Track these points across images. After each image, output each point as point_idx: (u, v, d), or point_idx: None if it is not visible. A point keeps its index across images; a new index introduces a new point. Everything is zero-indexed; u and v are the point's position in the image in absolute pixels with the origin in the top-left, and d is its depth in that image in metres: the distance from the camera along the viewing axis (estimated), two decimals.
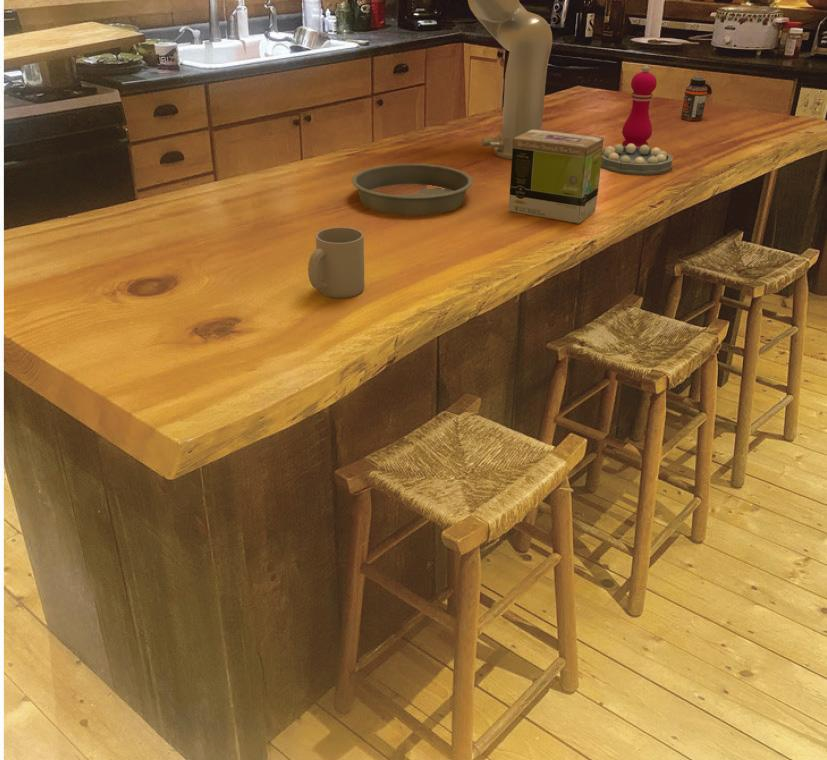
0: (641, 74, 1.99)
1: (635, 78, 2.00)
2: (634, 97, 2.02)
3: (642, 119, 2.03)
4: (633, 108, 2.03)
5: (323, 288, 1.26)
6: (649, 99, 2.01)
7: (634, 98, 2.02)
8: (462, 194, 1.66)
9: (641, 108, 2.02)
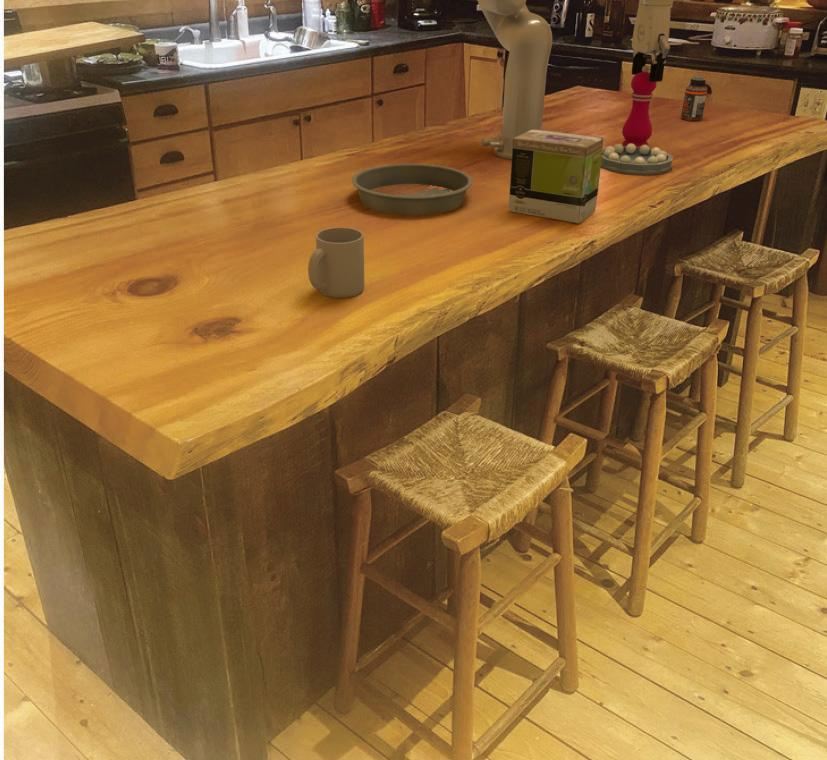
0: (641, 74, 1.99)
1: (635, 78, 2.00)
2: (634, 97, 2.02)
3: (642, 119, 2.03)
4: (633, 108, 2.03)
5: (323, 288, 1.26)
6: (649, 99, 2.01)
7: (634, 98, 2.02)
8: (462, 194, 1.66)
9: (641, 108, 2.02)
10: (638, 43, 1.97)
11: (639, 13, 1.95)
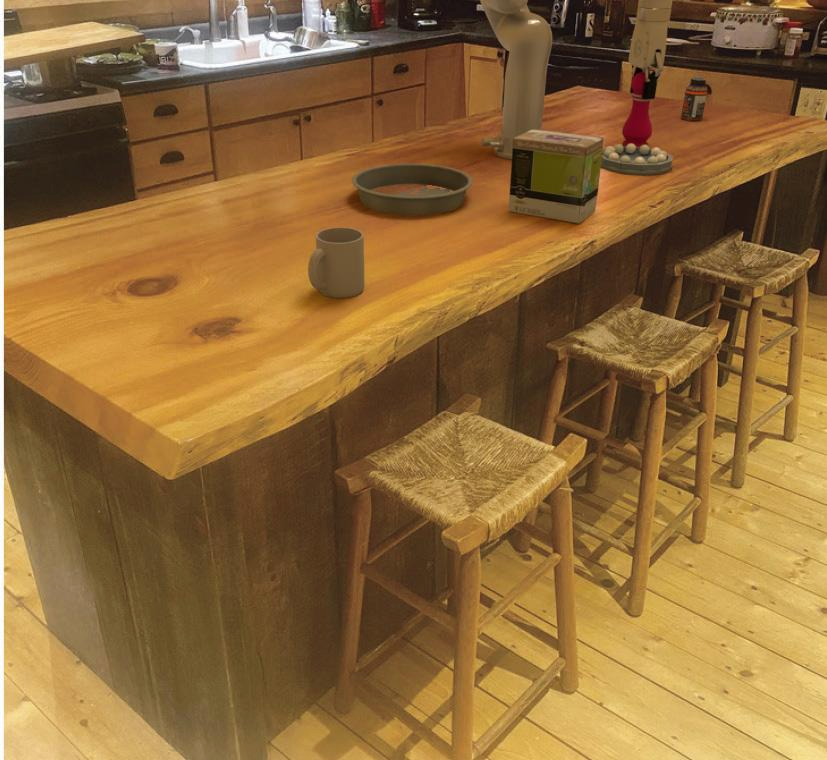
0: (641, 74, 1.99)
1: (635, 78, 2.00)
2: (634, 97, 2.02)
3: (642, 119, 2.03)
4: (633, 108, 2.03)
5: (323, 288, 1.26)
6: (649, 99, 2.01)
7: (634, 98, 2.02)
8: (462, 194, 1.66)
9: (641, 108, 2.02)
10: (635, 58, 1.98)
11: (636, 28, 1.97)
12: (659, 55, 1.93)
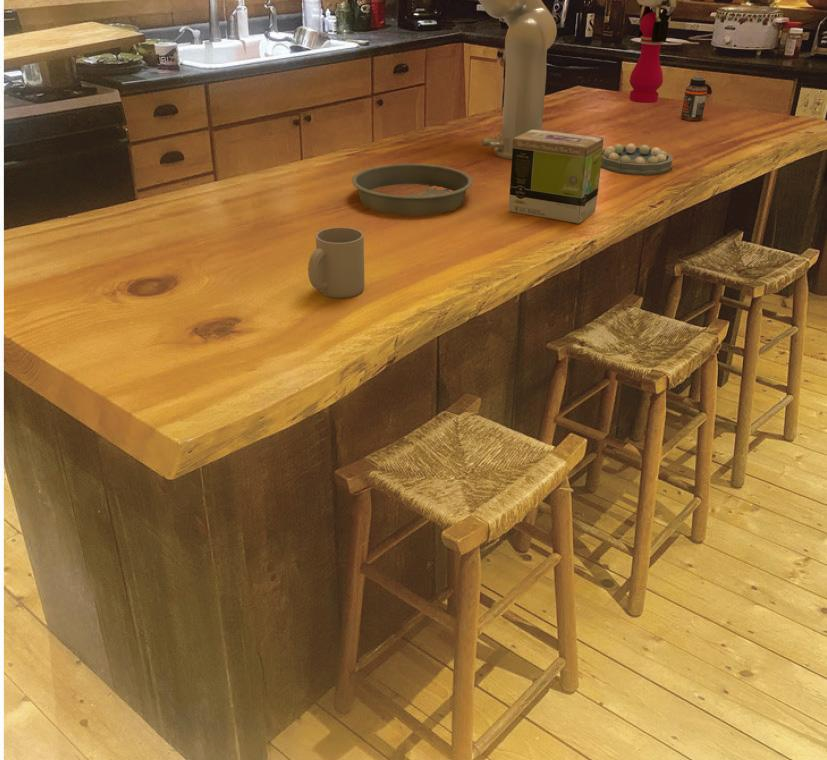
0: (651, 14, 1.79)
1: (645, 18, 1.79)
2: (643, 40, 1.81)
3: (652, 65, 1.83)
4: (642, 53, 1.83)
5: (323, 288, 1.26)
6: (660, 42, 1.81)
7: (643, 41, 1.81)
8: (462, 194, 1.66)
9: (651, 52, 1.82)
10: None
11: None
12: None
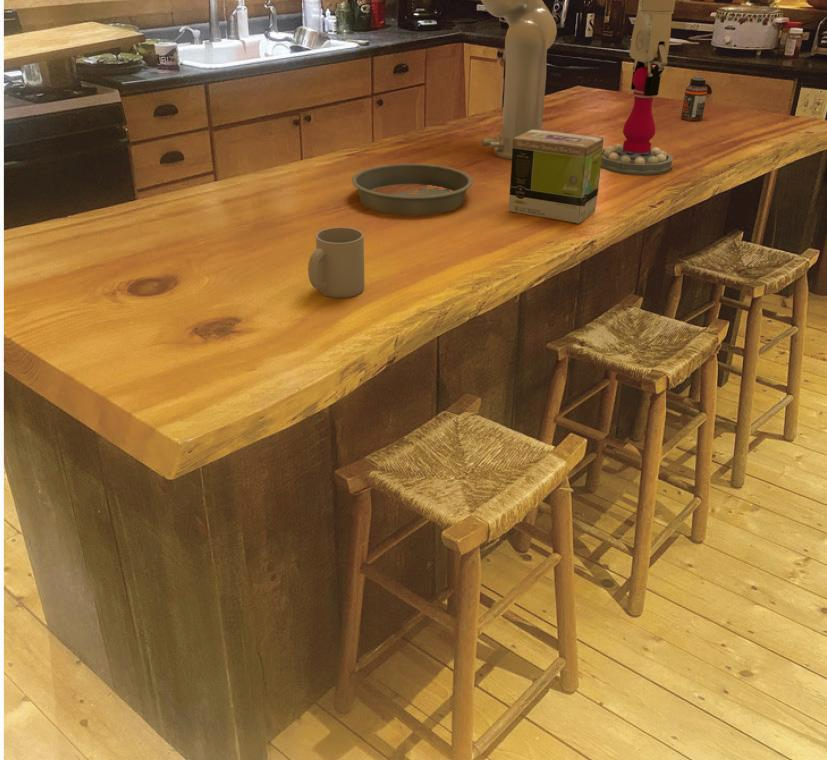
0: (644, 68, 1.84)
1: (637, 73, 1.85)
2: (636, 93, 1.87)
3: (645, 117, 1.88)
4: (635, 105, 1.88)
5: (323, 288, 1.26)
6: None
7: (636, 94, 1.87)
8: (462, 194, 1.66)
9: (643, 105, 1.87)
10: (636, 51, 1.83)
11: (638, 19, 1.82)
12: (663, 48, 1.78)
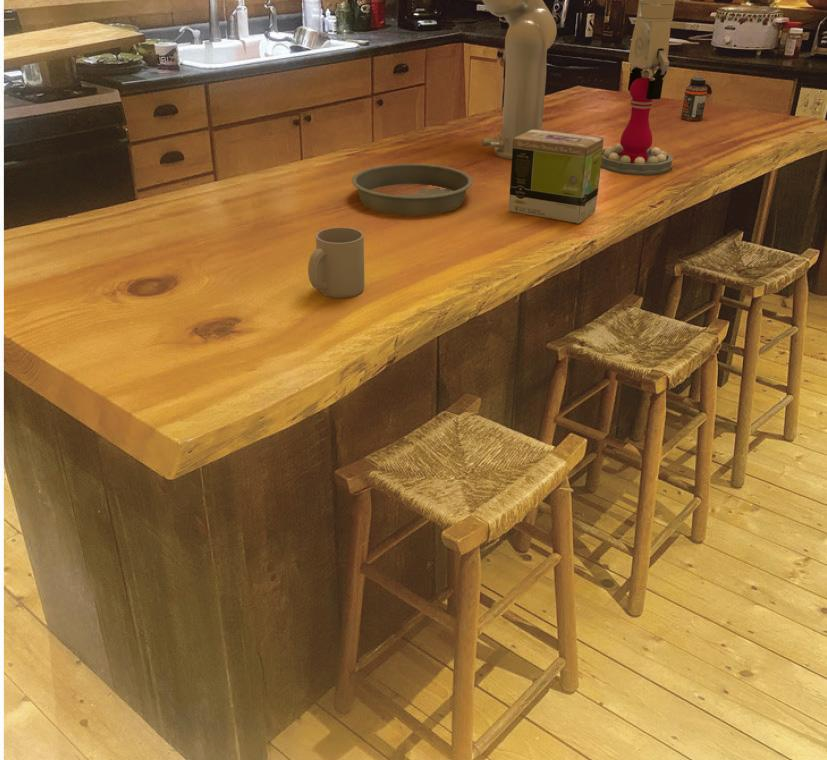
0: (640, 79, 1.86)
1: (634, 84, 1.86)
2: (633, 104, 1.88)
3: (642, 128, 1.89)
4: (632, 116, 1.90)
5: (323, 288, 1.26)
6: (649, 106, 1.87)
7: (633, 105, 1.88)
8: (462, 194, 1.66)
9: (640, 116, 1.89)
10: (635, 58, 1.84)
11: (637, 26, 1.82)
12: (662, 52, 1.78)
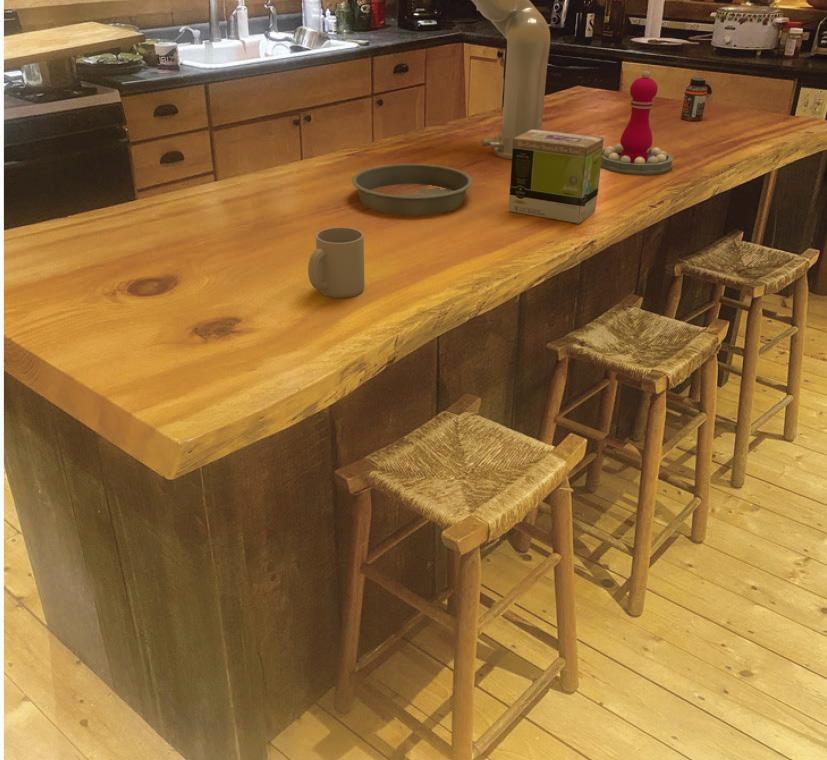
0: (641, 80, 1.86)
1: (634, 84, 1.86)
2: (633, 104, 1.88)
3: (642, 128, 1.89)
4: (632, 116, 1.90)
5: (323, 288, 1.26)
6: (649, 106, 1.87)
7: (633, 105, 1.88)
8: (462, 194, 1.66)
9: (640, 116, 1.89)
10: None
11: None
12: None
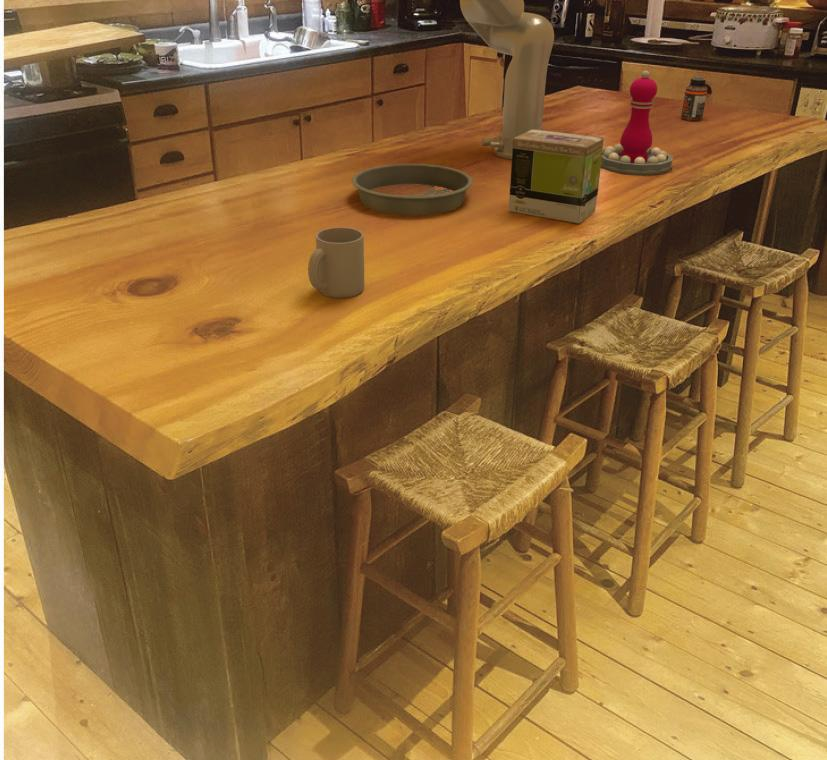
0: (640, 80, 1.85)
1: (634, 84, 1.86)
2: (633, 104, 1.88)
3: (642, 128, 1.89)
4: (632, 116, 1.90)
5: (323, 288, 1.26)
6: (649, 106, 1.87)
7: (633, 105, 1.88)
8: (462, 194, 1.66)
9: (640, 116, 1.88)
10: None
11: None
12: None
